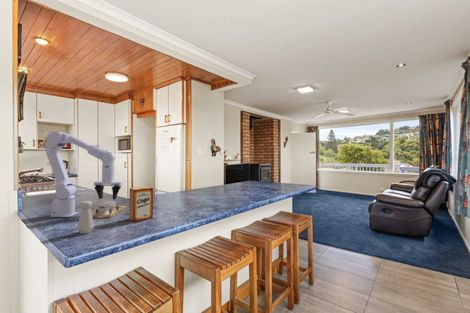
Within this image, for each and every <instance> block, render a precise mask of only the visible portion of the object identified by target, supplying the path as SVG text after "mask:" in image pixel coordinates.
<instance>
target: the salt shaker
mask: <svg viewBox="0 0 470 313" xmlns="http://www.w3.org/2000/svg"><path fill="white" fill-rule="evenodd" d="M92 207H93V201H90V200H84V201H81V202H80V203H79V208H81V209H80V212H79V213H80V214H79V220H78V224H77V231H78V233H79V234H80V235H86V234H87V235H88V234H90V233H92V232H93V230H94V229H95V228H94V227H95V224H94V223H95V222H94V220H93V218H92V213H91V211H92V209H91V208H92Z"/></svg>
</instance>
